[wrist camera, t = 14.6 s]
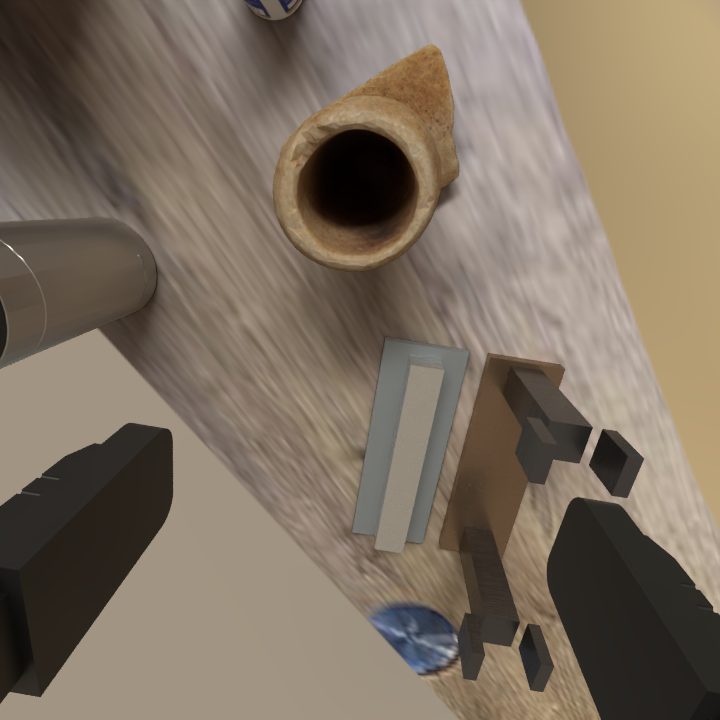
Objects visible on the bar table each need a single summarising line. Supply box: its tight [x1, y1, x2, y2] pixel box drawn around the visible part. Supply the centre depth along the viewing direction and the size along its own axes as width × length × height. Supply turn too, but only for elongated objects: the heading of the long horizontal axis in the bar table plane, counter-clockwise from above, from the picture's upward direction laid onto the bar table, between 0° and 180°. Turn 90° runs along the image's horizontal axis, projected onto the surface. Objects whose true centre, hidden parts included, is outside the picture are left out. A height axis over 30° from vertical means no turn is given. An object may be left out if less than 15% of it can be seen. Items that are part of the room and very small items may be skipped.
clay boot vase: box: [273, 44, 459, 271], centre depth 30 cm, size 15×12×15 cm
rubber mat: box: [352, 337, 469, 544], centre depth 45 cm, size 8×23×1 cm, turn 172°
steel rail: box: [375, 354, 445, 554], centre depth 44 cm, size 3×21×3 cm, turn 172°
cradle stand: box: [439, 353, 644, 692], centre depth 38 cm, size 7×23×16 cm, turn 172°
